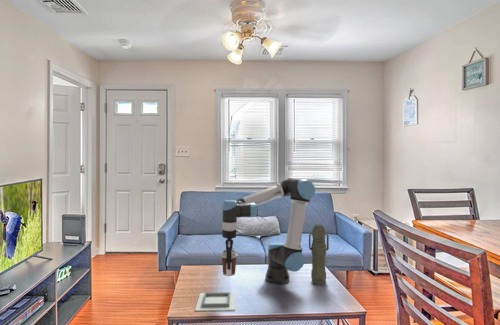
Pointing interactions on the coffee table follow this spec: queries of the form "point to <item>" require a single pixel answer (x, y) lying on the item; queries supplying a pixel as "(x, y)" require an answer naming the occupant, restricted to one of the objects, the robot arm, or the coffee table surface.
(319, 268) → the thermos
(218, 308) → the square seat
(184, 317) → the coffee table surface
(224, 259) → the coffee cup
